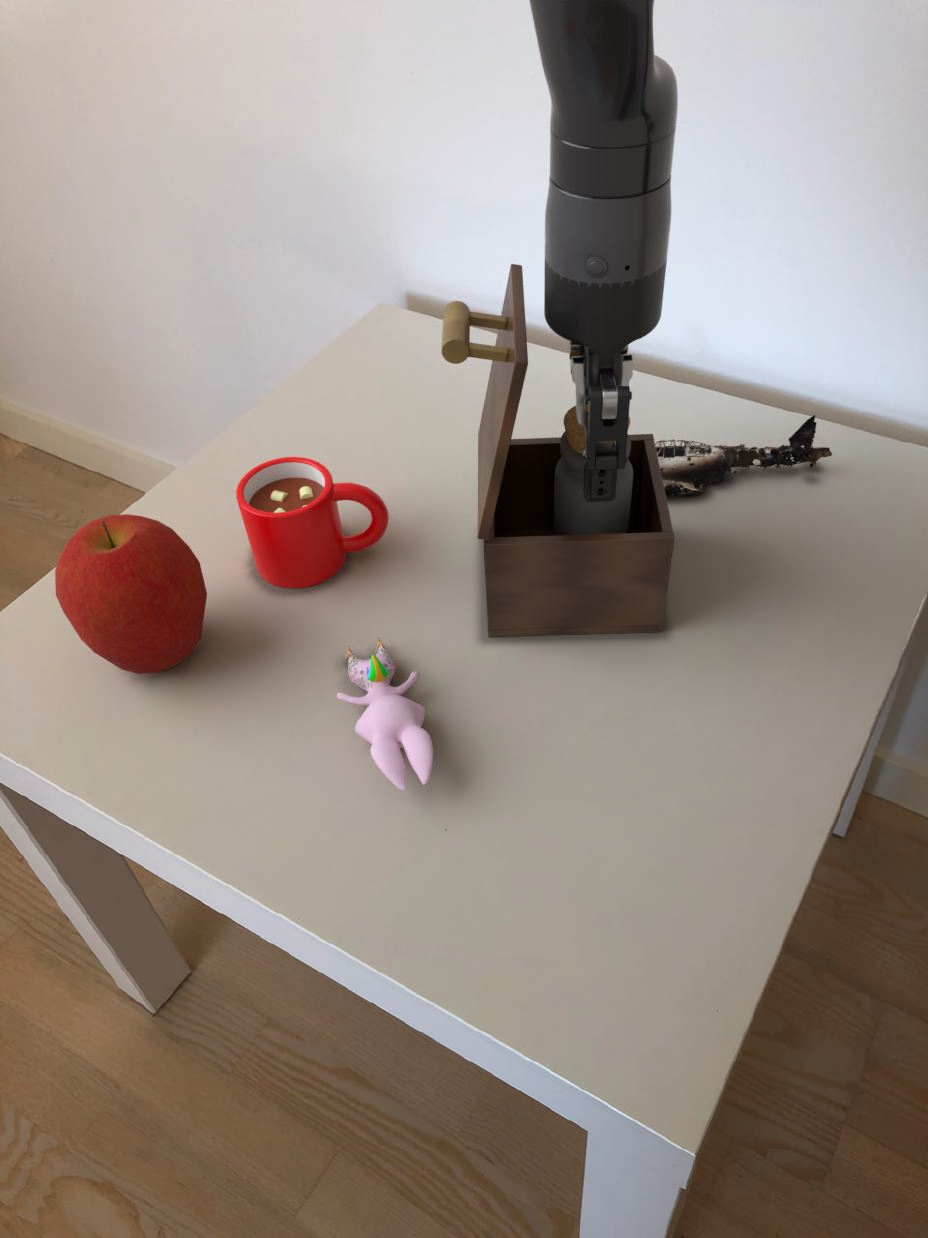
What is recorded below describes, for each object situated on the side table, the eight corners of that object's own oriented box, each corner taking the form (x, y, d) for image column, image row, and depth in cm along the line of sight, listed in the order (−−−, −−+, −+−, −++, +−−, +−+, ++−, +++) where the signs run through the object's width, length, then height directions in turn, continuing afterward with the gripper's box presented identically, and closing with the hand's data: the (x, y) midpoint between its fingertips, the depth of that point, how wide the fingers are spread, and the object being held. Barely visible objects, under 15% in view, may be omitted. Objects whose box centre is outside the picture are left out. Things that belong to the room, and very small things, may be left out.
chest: (642, 526, 83) (653, 433, 76) (661, 632, 74) (675, 538, 67) (487, 531, 83) (483, 439, 76) (488, 637, 75) (483, 544, 68)
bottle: (606, 541, 80) (617, 388, 70) (636, 585, 76) (652, 431, 66) (542, 558, 79) (543, 406, 68) (569, 604, 75) (574, 451, 65)
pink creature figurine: (330, 681, 74) (373, 818, 62) (315, 621, 71) (357, 755, 59) (407, 659, 75) (463, 790, 64) (395, 599, 72) (453, 727, 60)
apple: (246, 620, 77) (203, 486, 67) (186, 714, 71) (128, 582, 61) (137, 597, 80) (79, 465, 70) (69, 686, 73) (-5, 555, 63)
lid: (522, 264, 65) (449, 253, 65) (528, 362, 57) (444, 351, 56) (487, 435, 76) (424, 427, 75) (488, 540, 67) (417, 532, 67)
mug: (395, 578, 80) (384, 506, 74) (253, 592, 80) (231, 521, 74) (391, 518, 85) (381, 446, 80) (258, 531, 85) (239, 460, 79)
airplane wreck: (839, 485, 85) (854, 433, 81) (634, 503, 85) (639, 453, 81) (817, 446, 89) (830, 396, 85) (622, 464, 89) (626, 414, 85)
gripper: (684, 304, 53) (657, 524, 65) (652, 197, 63) (634, 405, 75) (550, 310, 53) (547, 528, 65) (539, 203, 63) (539, 409, 75)
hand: (594, 462), depth 70 cm, fingers open, 8 cm apart
